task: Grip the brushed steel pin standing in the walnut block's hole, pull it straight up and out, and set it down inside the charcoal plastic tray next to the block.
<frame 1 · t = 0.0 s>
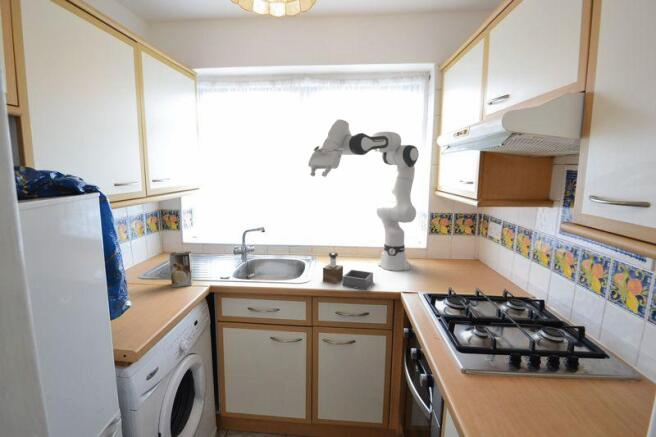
hand: (317, 175, 147), 54 cm above the countertop, tool tilted 30°, fingers open, 8 cm apart
charcoal tray: (358, 283, 159), on the countertop
steel pin: (333, 266, 164), in the walnut hitch block
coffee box: (182, 284, 156), on the countertop
walnut hitch block: (332, 279, 165), on the countertop
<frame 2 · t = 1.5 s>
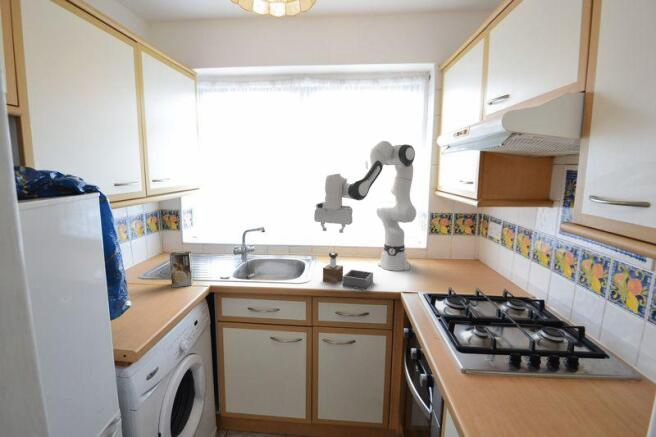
hand: (332, 231, 161), 26 cm above the countertop, tool pointing down, fingers open, 8 cm apart
nothing on the countertop moved.
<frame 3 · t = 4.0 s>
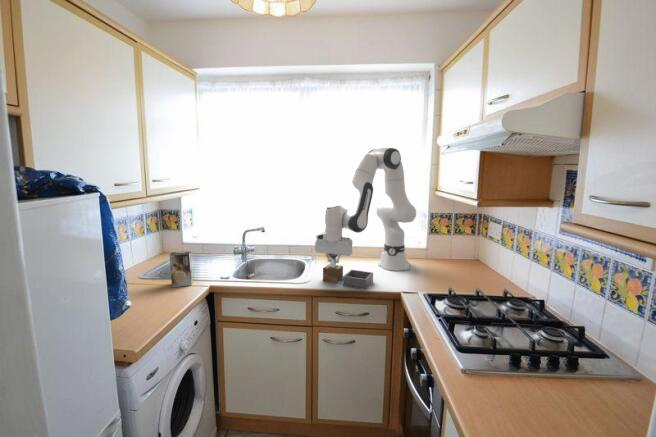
hand: (333, 262, 164), 10 cm above the countertop, tool pointing down, fingers closed on steel pin, 3 cm apart
steel pin: (333, 266, 164), in the walnut hitch block, touching gripper
everything else where it was.
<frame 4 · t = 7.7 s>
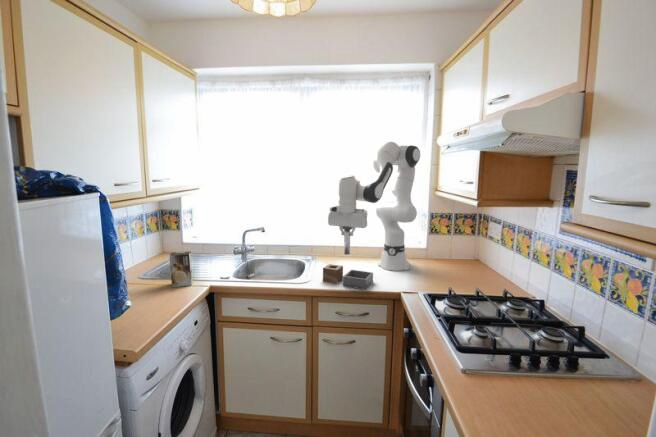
hand: (347, 235, 159), 25 cm above the countertop, tool pointing down, fingers closed on steel pin, 3 cm apart
steel pin: (347, 240, 159), point 22 cm above the countertop, touching gripper
everything else where it was.
when the fingers open (12 cm above the countertop, at t = 11.3 s): steel pin drops 1 cm, resting on charcoal tray.
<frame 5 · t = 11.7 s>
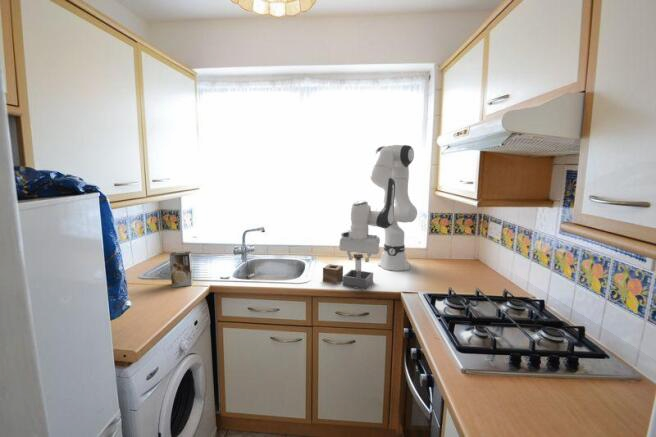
hand: (358, 260, 158), 12 cm above the countertop, tool pointing down, fingers open, 7 cm apart
steel pin: (358, 268, 158), in the charcoal tray, point 8 cm above the countertop
everything else where it was.
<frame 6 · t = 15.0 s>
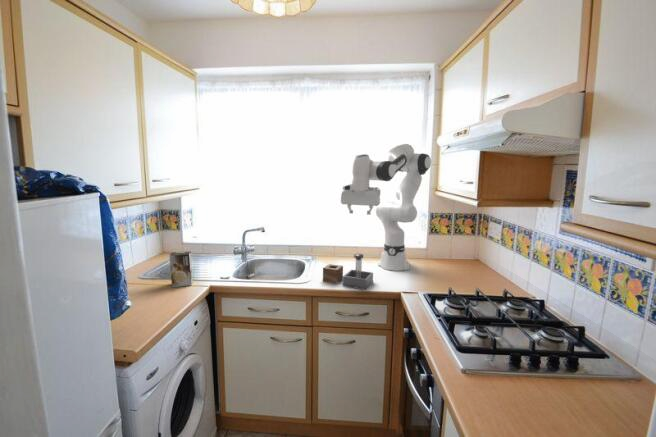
hand: (359, 213, 161), 35 cm above the countertop, tool pointing down, fingers open, 8 cm apart
nothing on the countertop moved.
at the end: steel pin inside the target area on the charcoal tray (0.0 cm from its centre), point 8.1 cm above the charcoal tray's base; steel pin moved 14.1 cm from its start; the gripper is holding nothing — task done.
